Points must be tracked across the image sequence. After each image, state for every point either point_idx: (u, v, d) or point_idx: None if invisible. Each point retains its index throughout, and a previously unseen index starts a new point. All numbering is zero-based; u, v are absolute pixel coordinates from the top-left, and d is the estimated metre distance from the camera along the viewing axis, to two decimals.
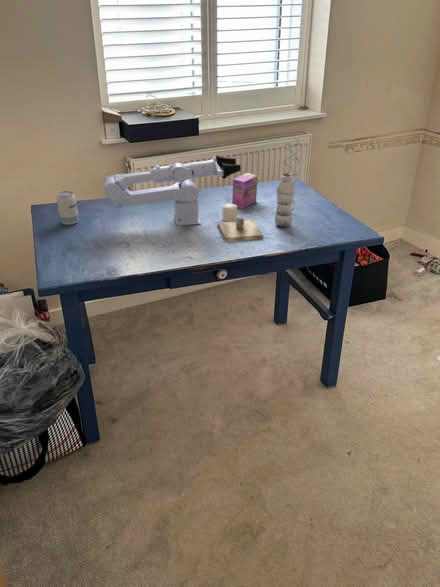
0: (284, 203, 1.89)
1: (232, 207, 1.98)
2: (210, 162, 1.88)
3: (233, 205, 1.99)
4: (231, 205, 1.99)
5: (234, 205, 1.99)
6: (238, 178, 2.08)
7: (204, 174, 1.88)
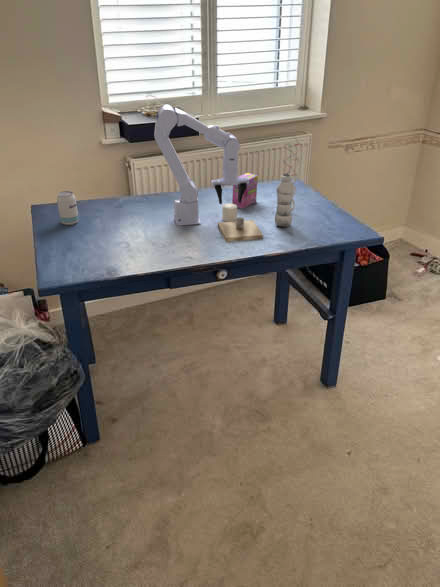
0: (284, 203, 1.89)
1: (232, 207, 1.98)
2: (228, 178, 1.90)
3: (233, 205, 1.99)
4: (231, 205, 1.99)
5: (234, 205, 1.99)
6: None
7: None
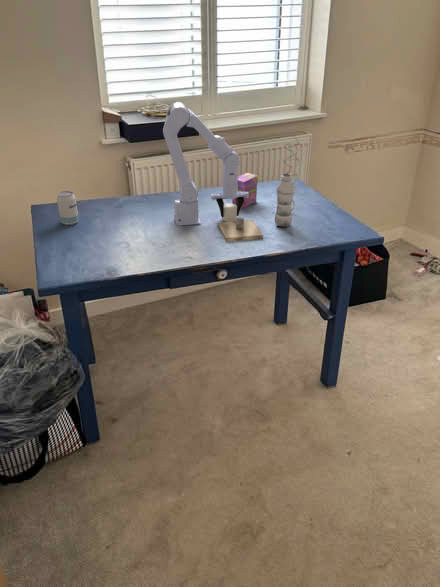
0: (284, 203, 1.89)
1: (232, 207, 1.98)
2: (228, 192, 1.93)
3: (233, 205, 1.99)
4: (231, 205, 1.99)
5: (234, 205, 1.99)
6: (238, 178, 2.08)
7: None
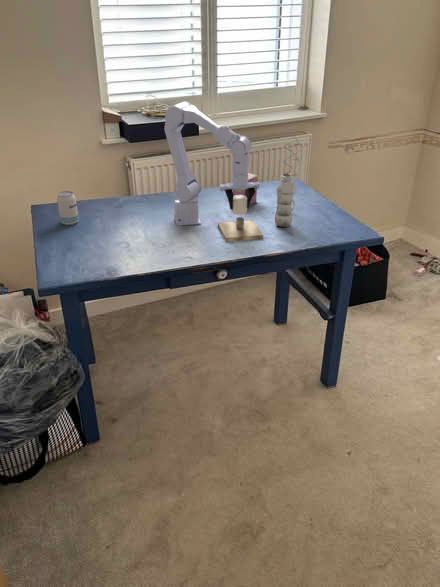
0: (284, 203, 1.89)
1: (242, 199, 1.84)
2: (238, 182, 1.80)
3: (243, 197, 1.86)
4: (241, 197, 1.86)
5: (244, 197, 1.86)
6: None
7: None
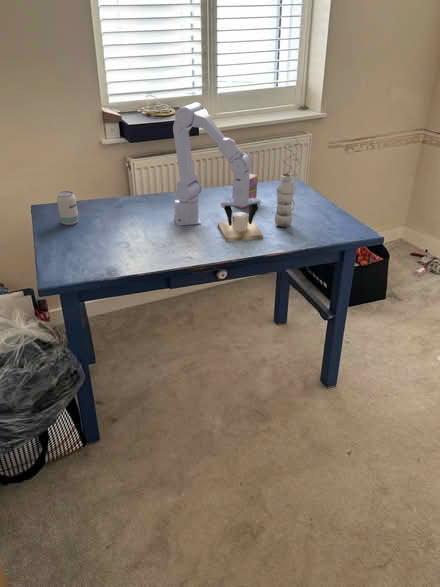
0: (284, 203, 1.89)
1: (243, 216, 1.86)
2: (239, 199, 1.81)
3: (244, 214, 1.87)
4: (242, 214, 1.88)
5: (245, 214, 1.88)
6: None
7: None
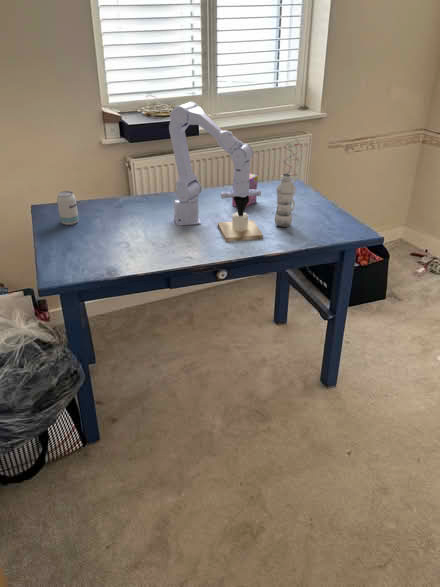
0: (284, 203, 1.89)
1: (243, 216, 1.86)
2: (239, 190, 1.79)
3: (244, 214, 1.87)
4: None
5: (245, 214, 1.88)
6: None
7: None
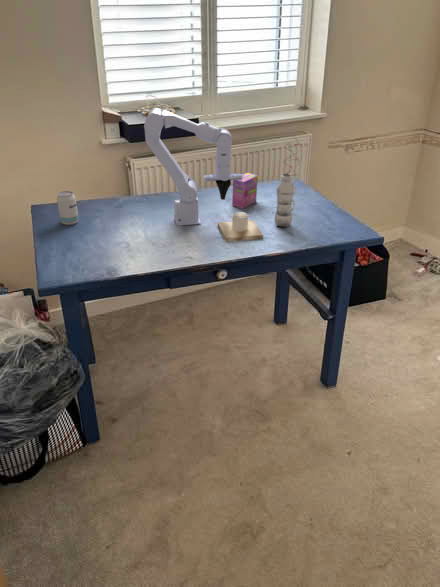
0: (284, 203, 1.89)
1: (243, 216, 1.86)
2: (221, 173, 1.87)
3: (244, 214, 1.87)
4: (242, 214, 1.88)
5: (245, 214, 1.88)
6: None
7: None
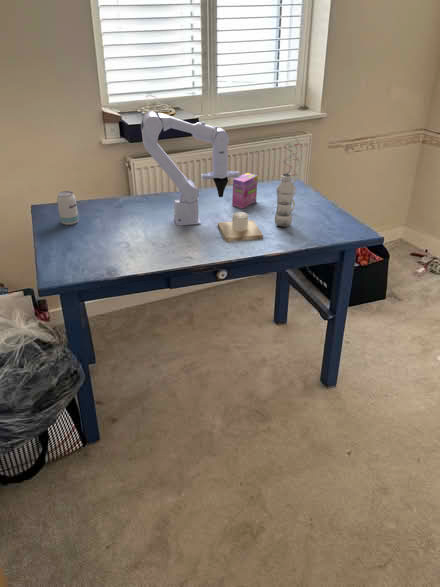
0: (284, 203, 1.89)
1: (243, 216, 1.86)
2: (218, 171, 1.89)
3: (244, 214, 1.87)
4: (242, 214, 1.88)
5: (245, 214, 1.88)
6: (238, 178, 2.08)
7: None
